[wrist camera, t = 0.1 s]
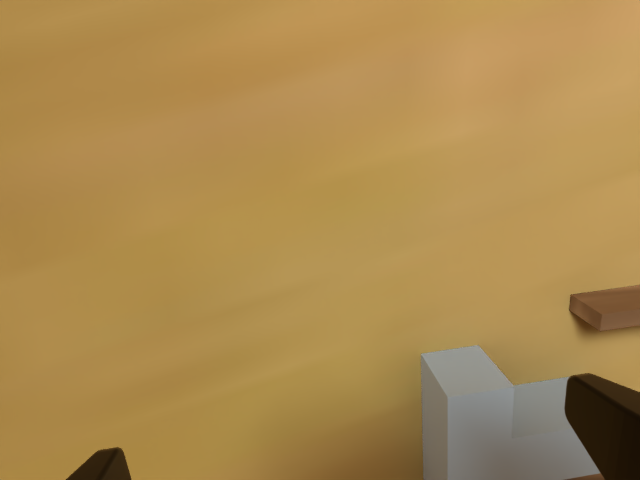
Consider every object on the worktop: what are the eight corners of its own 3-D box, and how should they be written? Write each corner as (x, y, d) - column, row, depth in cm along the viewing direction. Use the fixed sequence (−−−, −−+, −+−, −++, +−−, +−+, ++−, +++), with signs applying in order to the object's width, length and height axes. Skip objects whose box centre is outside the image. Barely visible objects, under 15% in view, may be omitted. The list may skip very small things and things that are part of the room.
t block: (574, 459, 30) (619, 511, 26) (423, 485, 29) (447, 543, 25) (589, 328, 27) (642, 366, 23) (420, 353, 26) (447, 397, 22)
